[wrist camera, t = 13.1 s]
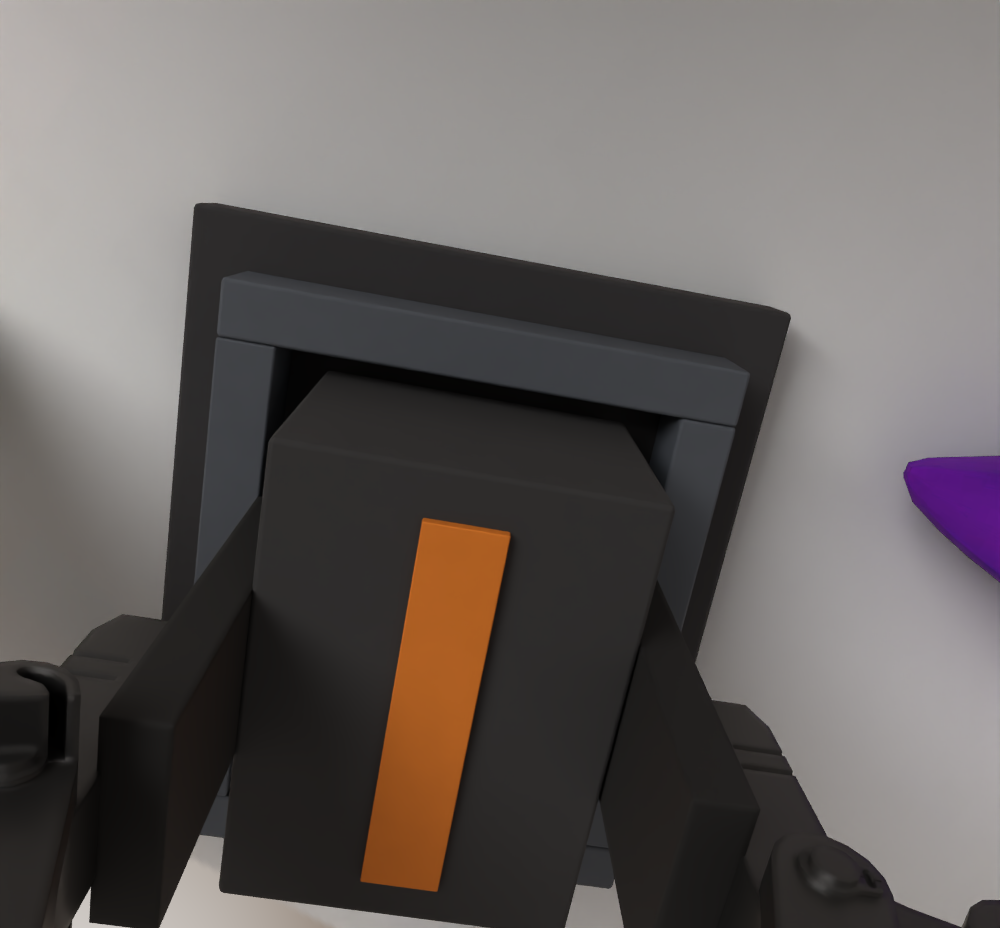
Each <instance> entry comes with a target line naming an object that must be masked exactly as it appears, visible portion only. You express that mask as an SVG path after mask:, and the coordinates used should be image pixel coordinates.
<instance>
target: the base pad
mask: <svg viewBox="0 0 1000 928" xmlns="http://www.w3.org/2000/svg"><path fill="white" fill-rule="evenodd" d="M790 319H791V317H790V314H788V313H786V312H783V311H781V310H778V309H775V308H772V307H769V306H763V305H758V304H753V303H747V302H742V301H737V300H731V299H726V298H721V297H715V296H710V295H705V294H699V293H694V292H689V291H683V290H678V289H672V288H667V287H662V286H656V285H651V284H646V283H640V282H635V281H630V280H624V279H619V278H614V277H608V276H603V275H598V274H592V273H587V272H582V271H576V270H571V269H566V268H560V267H555V266H550V265H544V264H539V263H534V262H528V261H523V260H517V259H512V258H507V257H501V256H496V255H491V254H485V253H480V252H475V251H469V250H464V249H459V248H453V247H448V246H443V245H437V244H432V243H427V242H421V241H416V240H411V239H405V238H400V237H395V236H389V235H384V234H378V233H373V232H368V231H362V230H357V229H352V228H346V227H341V226H336V225H330V224H325V223H320V222H314V221H309V220H304V219H298V218H293V217H288V216H282V215H277V214H272V213H266V212H261V211H256V210H250V209H245V208H240V207H234V206H229V205H223V204H218V203H198V204H196V205H195V207H194V216H193V228H192V241H191V254H190V267H189V279H188V292H187V305H186V318H185V330H184V343H183V356H182V368H181V381H180V394H179V407H178V419H177V432H176V445H175V458H174V470H173V483H172V496H171V509H170V521H169V534H168V547H167V560H166V572H165V585H164V598H163V611H162V620H164V621H168V620H169V619H170V618H171V616H172V615H173V613H174V612H175V611H176V609H177V608H178V606H179V605H180V604H181V602H182V601H183V600H184V598H185V597H186V595H187V594H188V593H189V591H190V590H191V588H192V587H193V586H194V584H195V583H196V582H197V580H198V579H199V577H200V576H201V575H202V573H203V572H204V570H205V569H206V568H207V566H208V565H209V563H210V562H211V561H212V559H213V558H214V557H215V555H216V554H217V552H218V551H219V550H220V548H221V547H222V545H223V544H224V543H225V541H226V540H227V539H228V537H229V536H230V534H231V533H232V532H233V530H234V529H235V527H236V526H237V525H238V523H239V522H240V520H241V519H242V518H243V516H244V515H245V514H246V512H247V511H248V509H249V508H250V507H251V505H252V504H253V502H254V501H255V500H256V498H257V497H258V496H259V497H262V496H263V487H264V478H265V469H266V460H267V451H268V442H269V440H270V438H271V437H272V436H273V435H274V433H275V432H276V431H277V430H278V429H279V428H280V426H281V425H282V424H283V423H284V422H285V421H286V419H287V418H288V417H289V416H290V415H291V414H292V412H293V411H294V410H295V409H296V408H297V407H298V405H299V404H300V403H301V402H302V401H303V400H304V398H305V397H306V396H307V395H308V394H309V393H310V391H311V390H312V389H313V388H314V387H315V386H316V384H317V383H318V382H319V381H320V380H321V379H322V377H323V376H324V375H325V374H326V373H327V372H328V371H337V372H342V373H348V374H354V375H359V376H365V377H370V378H376V379H382V380H387V381H393V382H398V383H404V384H410V385H415V386H421V387H426V388H432V389H438V390H443V391H449V392H454V393H460V394H466V395H471V396H477V397H482V398H488V399H494V400H499V401H505V402H510V403H516V404H522V405H527V406H533V407H538V408H544V409H549V410H555V411H561V412H566V413H572V414H577V415H583V416H589V417H594V418H600V419H605V420H611V421H617V422H621V423H623V424H624V425H625V427H626V429H627V430H628V432H629V433H630V435H631V437H632V438H633V440H634V442H635V443H636V445H637V446H638V448H639V450H640V451H641V453H642V455H643V456H644V458H645V459H646V461H647V463H648V464H649V466H650V468H651V469H652V471H653V473H654V474H655V476H656V477H657V479H658V481H659V482H660V484H661V486H662V487H663V489H664V490H665V492H666V494H667V495H668V497H669V499H670V500H671V502H672V503H673V505H674V508H675V514H674V518H673V521H672V525H671V529H670V533H669V536H668V540H667V544H666V548H665V551H664V555H663V559H662V563H661V566H660V570H659V574H658V578H657V580H658V582H659V585H660V587H661V589H662V591H663V593H664V596H665V598H666V600H667V602H668V605H669V607H670V609H671V611H672V613H673V616H674V618H675V620H676V622H677V625H678V627H679V629H680V631H681V634H682V636H683V638H684V640H685V642H686V645H687V647H688V649H689V651H690V654H691V656H692V658H693V660H694V662H695V661H696V658H697V654H698V651H699V647H700V643H701V640H702V636H703V633H704V629H705V625H706V622H707V618H708V615H709V611H710V607H711V604H712V600H713V597H714V593H715V589H716V586H717V582H718V579H719V575H720V571H721V568H722V564H723V561H724V557H725V553H726V550H727V546H728V543H729V539H730V535H731V532H732V528H733V525H734V521H735V517H736V514H737V510H738V507H739V503H740V499H741V496H742V492H743V489H744V485H745V481H746V478H747V474H748V471H749V467H750V463H751V460H752V456H753V453H754V449H755V445H756V442H757V438H758V435H759V431H760V427H761V424H762V420H763V417H764V413H765V409H766V406H767V402H768V399H769V395H770V391H771V388H772V384H773V381H774V377H775V373H776V370H777V366H778V363H779V359H780V355H781V352H782V348H783V345H784V341H785V337H786V334H787V330H788V327H789V323H790ZM232 764H233V759H232V761H231V764H230V766H229V768H228V770H227V773H226V775H225V777H224V780H223V782H222V784H221V787H220V789H219V791H218V793H217V796H216V798H215V800H214V803H213V805H212V807H211V810H210V812H209V814H208V816H207V819H206V821H205V823H204V826H203V828H202V830H201V833H200V835H207V836H214V837H222V838H224V836H225V827H226V818H227V809H228V800H229V791H230V782H231V773H232ZM613 882H614V874H613V868H612V863H611V858H610V853H609V848H608V843H607V837H606V832H605V827H604V822H603V817H602V812H601V807H600V801H599V800H598V804H597V807H596V811H595V815H594V819H593V823H592V826H591V830H590V834H589V838H588V841H587V845H586V849H585V853H584V856H583V860H582V864H581V868H580V872H579V875H578V879H577V883H576V884H578V885H585V886H593V887H600V888H608V889H609V888H611V887H612V885H613Z"/></svg>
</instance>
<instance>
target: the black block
mask: <svg viewBox="0 0 1000 928" xmlns="http://www.w3.org/2000/svg"><path fill="white" fill-rule="evenodd" d="M674 514H675V508H674V505H673V503H672V502H671V500H670V499H669V497H668V495H667V494H666V492H665V490H664V489H663V487H662V486H661V484H660V482H659V481H658V479H657V477H656V476H655V474H654V473H653V471H652V469H651V468H650V466H649V464H648V463H647V461H646V459H645V458H644V456H643V455H642V453H641V451H640V450H639V448H638V446H637V445H636V443H635V442H634V440H633V438H632V437H631V435H630V433H629V432H628V430H627V429H626V427H625V425H624V424H623V423H621V422H617V421H611V420H605V419H600V418H594V417H589V416H583V415H577V414H572V413H566V412H561V411H555V410H549V409H544V408H538V407H533V406H527V405H522V404H516V403H510V402H505V401H499V400H494V399H488V398H482V397H477V396H471V395H466V394H460V393H454V392H449V391H443V390H438V389H432V388H426V387H421V386H415V385H410V384H404V383H398V382H393V381H387V380H382V379H376V378H370V377H365V376H359V375H354V374H348V373H342V372H337V371H328V372H327V373H326V374H325V375H324V376H323V377H322V379H321V380H320V381H319V382H318V383H317V384H316V386H315V387H314V388H313V389H312V390H311V391H310V393H309V394H308V395H307V396H306V397H305V398H304V400H303V401H302V402H301V403H300V404H299V405H298V407H297V408H296V409H295V410H294V411H293V412H292V414H291V415H290V416H289V417H288V418H287V419H286V421H285V422H284V423H283V424H282V425H281V426H280V428H279V429H278V430H277V431H276V432H275V433H274V435H273V436H272V437H271V438H270V440H269V442H268V451H267V460H266V469H265V478H264V487H263V496H262V505H261V514H260V523H259V531H258V540H257V549H256V558H255V567H254V576H253V585H252V587H253V591H252V600H251V609H250V618H249V627H248V636H247V645H246V655H245V664H244V673H243V682H242V691H241V700H240V709H239V719H238V728H237V737H236V746H235V754H234V757H233V764H232V773H231V782H230V791H229V800H228V809H227V818H226V827H225V836H224V845H223V854H222V863H221V872H220V881H219V888H220V891H221V892H223V893H229V894H237V895H245V896H253V897H260V898H267V899H275V900H282V901H290V902H298V903H305V904H313V905H320V906H328V907H336V908H343V909H351V910H358V911H366V912H374V913H381V914H389V915H397V916H404V917H412V918H419V919H427V920H435V921H442V922H450V923H457V924H465V925H473V926H480V927H488V928H565V924H566V920H567V917H568V913H569V909H570V905H571V902H572V898H573V894H574V890H575V887H576V883H577V879H578V875H579V872H580V868H581V864H582V860H583V856H584V853H585V849H586V845H587V841H588V838H589V834H590V830H591V826H592V823H593V819H594V815H595V811H596V807H597V804H598V800H599V796H600V792H601V789H602V785H603V781H604V777H605V774H606V770H607V766H608V762H609V759H610V755H611V751H612V747H613V743H614V740H615V736H616V732H617V728H618V725H619V721H620V717H621V713H622V710H623V706H624V702H625V698H626V695H627V691H628V687H629V683H630V679H631V676H632V672H633V668H634V664H635V661H636V657H637V653H638V649H639V646H640V642H641V638H642V634H643V630H644V627H645V623H646V619H647V615H648V612H649V608H650V604H651V600H652V597H653V593H654V589H655V585H656V582H657V578H658V574H659V570H660V566H661V563H662V559H663V555H664V551H665V548H666V544H667V540H668V536H669V533H670V529H671V525H672V521H673V518H674Z"/></svg>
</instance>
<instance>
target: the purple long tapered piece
mask: <svg viewBox="0 0 1000 928" xmlns="http://www.w3.org/2000/svg"><path fill="white" fill-rule="evenodd" d="M904 479H905V482H906V485H907V488H908V491H909V494H910V496H911V499H912V502H913V503H914V504H915V505H916V506H917V507H918V508H919V509H920V511H921V512H922V513H923V514H924V515H925V516H926V517H927V518H928V519H929V520H930V521H931V522H932V523H933V524H934V525H935V527H936V528H937V529H938V530H939V531H940V532H941V533H942V534H944V535H945V536H946V537H947V538H948V539H949V540H950V541H951V542H952V543H953V544H955V545H956V546H957V547H958V548H959V549H960V550H961V551H962V552H963V553H964V554H965V555H967V556H968V557H969V558H970V559H971V560H973V561H974V562H975V563H976V564H978V565H979V566H980V567H981V568H983V569H984V570H985V571H986V572H988V573H989V574H990V575H991V576H993V577H994V578H995V579H996V580H998V581H999V582H1000V456H976V457H937V458H925V459H921V460H917V461H913V462H909V463H908V465H907V467H906V469H905V471H904Z"/></svg>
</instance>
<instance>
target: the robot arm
mask: <svg viewBox="0 0 1000 928" xmlns="http://www.w3.org/2000/svg"><path fill="white" fill-rule="evenodd" d="M261 505H262V497H259V496H258V497H257V498H256V500H255V501H254V502H253V504H252V505H251V507H250V508H249V509H248V511H247V512H246V514H245V515H244V516H243V518H242V519H241V520H240V522H239V523H238V525H237V526H236V527H235V529H234V530H233V532H232V533H231V534H230V536H229V537H228V539H227V540H226V541H225V543H224V544H223V545H222V547H221V548H220V550H219V551H218V552H217V554H216V555H215V557H214V558H213V559H212V561H211V562H210V563H209V565H208V566H207V568H206V569H205V570H204V572H203V573H202V575H201V576H200V577H199V579H198V580H197V582H196V583H195V584H194V586H193V587H192V588H191V590H190V591H189V593H188V594H187V595H186V597H185V598H184V600H183V601H182V602H181V604H180V605H179V606H178V608H177V609H176V611H175V612H174V613H173V615H172V616H171V618H170V619H169V620H168V621H164V620H158V619H151V618H144V617H138V616H131V615H124V614H122V615H120V616H118V617H117V618H115V619H113V620H111V621H109V622H107V623H105V624H103V625H101V626H99V627H97V628H95V629H93V630H92V631H91V632H90V633H89V634H88V635H87V637H86V638H85V639H84V640H83V641H82V642H81V643H80V645H79V646H78V647H77V648H76V649H75V650H74V654H73V655H70V656H69V657H68V658H67V659H66V661H65V662H64V663H63V664H62V665H61V666H60V667H58V666H56V665H53V664H50V663H47V662H36V661H26V660H18V661H8V662H0V928H72V919H73V918H74V916H75V914H76V912H77V910H78V909H79V907H80V905H81V903H82V901H83V900H84V898H85V896H86V894H87V893H88V891H89V889H90V887H91V899H90V920H89V922H90V923H98V924H106V925H114V926H122V927H130V928H159V927H160V925H161V922H162V920H163V917H164V915H165V913H166V911H167V908H168V906H169V904H170V902H171V899H172V897H173V895H174V892H175V890H176V888H177V885H178V883H179V881H180V879H181V876H182V874H183V872H184V869H185V867H186V865H187V862H188V860H189V858H190V856H191V853H192V851H193V849H194V846H195V844H196V842H197V839H198V837H199V835H200V833H201V830H202V828H203V826H204V823H205V821H206V819H207V816H208V814H209V812H210V810H211V807H212V805H213V803H214V800H215V798H216V796H217V793H218V791H219V789H220V787H221V784H222V782H223V780H224V777H225V775H226V773H227V770H228V768H229V766H230V764H231V761H232V759H233V757H234V754H235V746H236V737H237V728H238V719H239V709H240V700H241V691H242V682H243V673H244V664H245V655H246V645H247V636H248V627H249V618H250V609H251V600H252V591H253V587H252V585H253V576H254V567H255V558H256V549H257V540H258V531H259V523H260V514H261ZM792 772H793V771H792V769H791V767H790V765H789V764H788V762H787V760H786V758H785V756H782V750H781V749H780V747H779V745H778V743H777V741H776V739H775V737H774V735H773V734H772V732H771V730H770V728H769V727H768V726H767V725H766V724H765V723H764V722H763V721H762V720H761V719H759V718H758V717H757V716H756V715H755V714H754V713H753V712H752V711H751V710H750V709H749V708H748V707H747V706H746V705H741V704H734V703H727V702H721V701H714V700H711V698H710V696H709V694H708V691H707V689H706V687H705V685H704V682H703V680H702V678H701V676H700V674H699V671H698V669H697V667H696V665H695V662H694V660H693V658H692V656H691V654H690V651H689V649H688V647H687V645H686V642H685V640H684V638H683V636H682V634H681V631H680V629H679V627H678V625H677V622H676V620H675V618H674V616H673V613H672V611H671V609H670V607H669V605H668V602H667V600H666V598H665V596H664V593H663V591H662V589H661V587H660V585H659V582H658V580H657V582H656V585H655V589H654V593H653V597H652V600H651V604H650V608H649V612H648V615H647V619H646V623H645V627H644V630H643V634H642V638H641V642H640V646H639V649H638V653H637V657H636V661H635V664H634V668H633V672H632V676H631V679H630V683H629V687H628V691H627V695H626V698H625V702H624V706H623V710H622V713H621V717H620V721H619V725H618V728H617V732H616V736H615V740H614V743H613V747H612V751H611V755H610V759H609V762H608V766H607V770H606V774H605V777H604V781H603V785H602V789H601V792H600V796H599V801H600V807H601V812H602V817H603V822H604V827H605V832H606V837H607V843H608V848H609V853H610V858H611V863H612V868H613V874H614V879H615V884H616V889H617V894H618V899H619V905H620V910H621V915H622V920H623V925H624V928H1000V900H982V901H980V902H978V903H977V904H975V905H973V906H972V907H970V909H969V912H968V914H967V916H966V918H965V921H964V923H963V925H962V927H959V926H956V925H954V924H951V923H948V922H946V921H943V920H940V919H937V918H935V917H932V916H929V915H927V914H924V913H921V912H919V911H916V910H913V909H911V908H908V907H906V906H904V905H901V904H899V903H897V902H895V901H894V899H893V895H892V893H891V891H890V889H889V886H888V884H887V882H886V880H885V878H884V877H883V876H882V875H881V874H880V872H879V871H878V870H877V869H876V868H875V867H874V866H873V865H872V864H871V863H870V862H869V861H868V860H867V859H866V858H864V857H863V856H861V855H860V854H859V853H857V852H856V851H854V850H853V849H851V848H850V847H849V846H847V845H844V844H842V843H840V842H838V841H835V840H833V839H831V838H829V837H827V835H826V833H825V831H824V829H823V827H822V825H821V824H820V822H819V820H818V818H817V816H816V814H815V812H814V810H813V809H812V807H811V805H810V803H809V801H808V799H807V797H806V795H805V794H804V792H803V790H802V788H801V786H800V784H799V782H798V780H797V779H796V777H795V776H792Z"/></svg>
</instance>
